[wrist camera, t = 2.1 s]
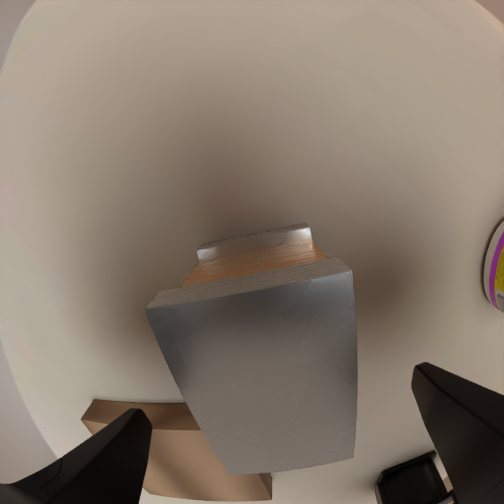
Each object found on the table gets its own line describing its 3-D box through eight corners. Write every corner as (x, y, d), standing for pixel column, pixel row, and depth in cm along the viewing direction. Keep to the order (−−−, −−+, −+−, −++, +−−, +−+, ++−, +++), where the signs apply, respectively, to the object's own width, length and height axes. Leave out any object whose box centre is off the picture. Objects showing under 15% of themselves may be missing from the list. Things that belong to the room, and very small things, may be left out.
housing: (305, 223, 13) (352, 270, 6) (325, 360, 15) (353, 457, 8) (202, 244, 13) (144, 308, 6) (240, 375, 15) (228, 474, 8)
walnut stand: (240, 399, 15) (237, 428, 13) (272, 478, 18) (272, 499, 16) (93, 399, 16) (80, 419, 14) (155, 476, 19) (149, 493, 17)
